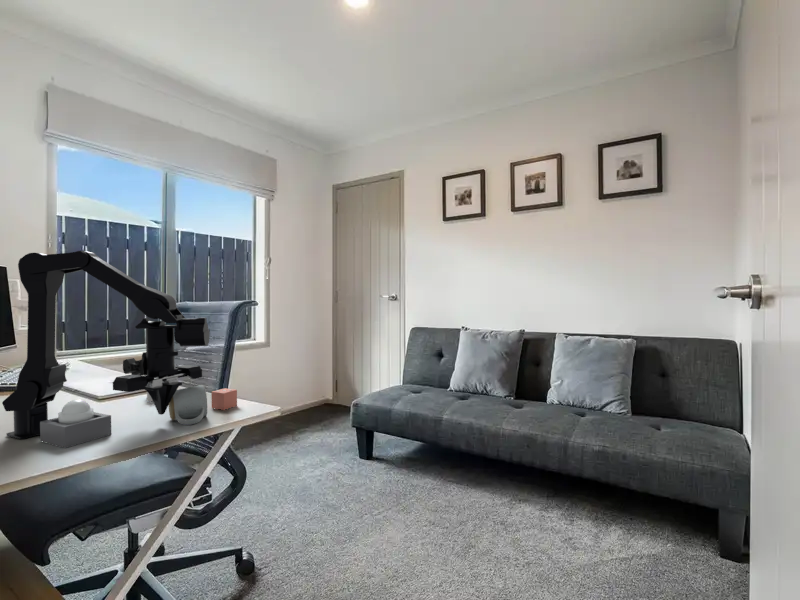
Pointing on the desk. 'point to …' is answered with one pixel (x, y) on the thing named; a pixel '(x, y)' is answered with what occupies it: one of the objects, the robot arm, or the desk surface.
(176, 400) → the ceramic mug
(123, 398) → the desk surface
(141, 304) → the robot arm
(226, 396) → the salmon red block
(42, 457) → the desk surface
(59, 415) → the dome
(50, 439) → the dome base
